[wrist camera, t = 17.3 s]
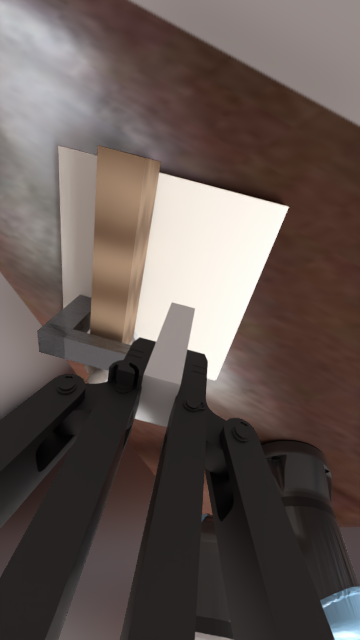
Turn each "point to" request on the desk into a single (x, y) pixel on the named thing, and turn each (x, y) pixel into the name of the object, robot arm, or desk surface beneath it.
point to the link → (120, 244)
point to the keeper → (79, 337)
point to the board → (176, 252)
